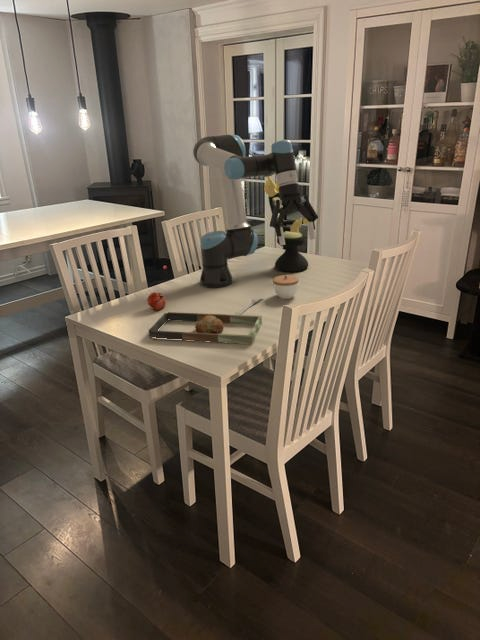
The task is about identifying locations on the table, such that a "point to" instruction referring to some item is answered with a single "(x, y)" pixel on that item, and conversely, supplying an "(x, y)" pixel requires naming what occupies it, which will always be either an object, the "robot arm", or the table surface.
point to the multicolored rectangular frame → (207, 336)
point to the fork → (247, 307)
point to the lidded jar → (285, 286)
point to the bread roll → (209, 325)
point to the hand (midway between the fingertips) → (297, 242)
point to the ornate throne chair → (288, 235)
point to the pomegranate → (156, 301)
